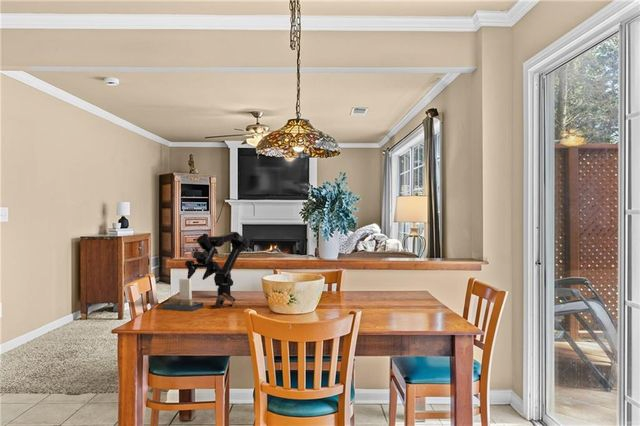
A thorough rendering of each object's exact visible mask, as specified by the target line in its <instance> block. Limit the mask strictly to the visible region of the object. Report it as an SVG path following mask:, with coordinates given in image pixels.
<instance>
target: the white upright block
mask: <svg viewBox="0 0 640 426" xmlns="http://www.w3.org/2000/svg"><path fill="white" fill-rule="evenodd" d="M178 282H179V283H178V284H179V298H181V299H182V298H186V299H192V300H193V298H192V294H193V293H192V279H191V278H190V279H188V278H179V279H178Z"/></svg>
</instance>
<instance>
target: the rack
mask: <svg viewBox="0 0 640 426" xmlns="http://www.w3.org/2000/svg"><path fill="white" fill-rule="evenodd" d="M204 308H205V306H204V301H192V305H182V304H169V301H167V302H164V303H162V310H164V311H165V310H166V311H177V312H178V311H180V312H181V311H182V312H195V311H197V310H201V309H204Z"/></svg>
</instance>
